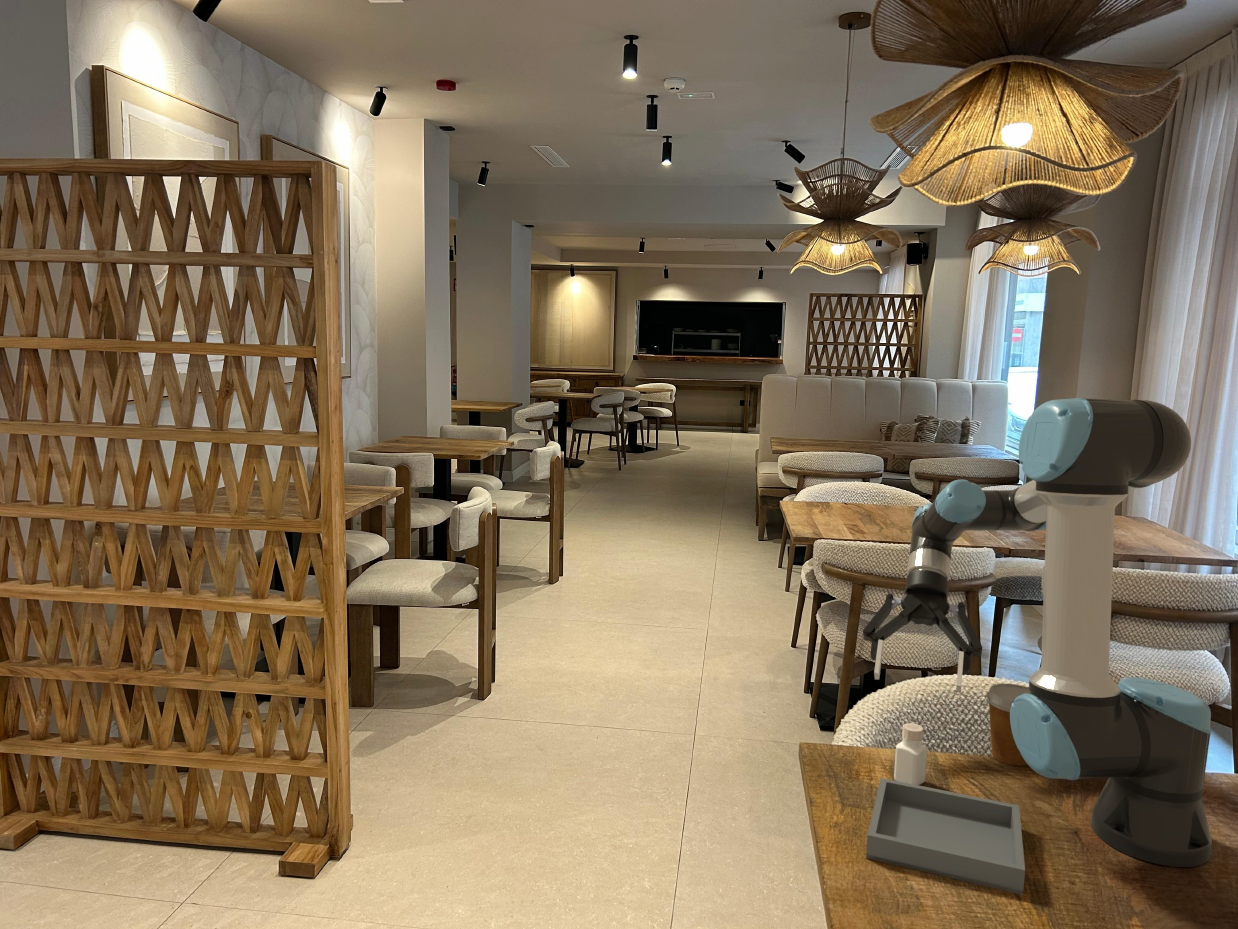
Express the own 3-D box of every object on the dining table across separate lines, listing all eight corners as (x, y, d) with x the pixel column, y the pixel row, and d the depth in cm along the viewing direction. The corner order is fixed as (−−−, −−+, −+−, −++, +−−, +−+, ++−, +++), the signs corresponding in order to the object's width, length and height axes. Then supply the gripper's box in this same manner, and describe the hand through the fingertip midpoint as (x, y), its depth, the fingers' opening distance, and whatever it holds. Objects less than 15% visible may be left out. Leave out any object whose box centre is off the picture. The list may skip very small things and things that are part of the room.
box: (1017, 827, 130) (1018, 805, 129) (1022, 895, 113) (1025, 870, 113) (879, 798, 137) (880, 778, 137) (866, 858, 121) (867, 835, 120)
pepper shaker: (892, 781, 143) (895, 726, 142) (904, 773, 146) (908, 719, 145) (914, 790, 140) (918, 734, 139) (926, 782, 143) (930, 727, 142)
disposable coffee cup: (1047, 773, 147) (1053, 706, 146) (988, 766, 149) (993, 700, 147) (1032, 748, 156) (1038, 685, 155) (977, 742, 158) (982, 680, 157)
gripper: (998, 597, 160) (993, 704, 148) (860, 581, 170) (845, 680, 158) (1001, 576, 155) (996, 685, 143) (858, 560, 164) (842, 661, 152)
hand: (916, 682), depth 150 cm, fingers open, 13 cm apart
